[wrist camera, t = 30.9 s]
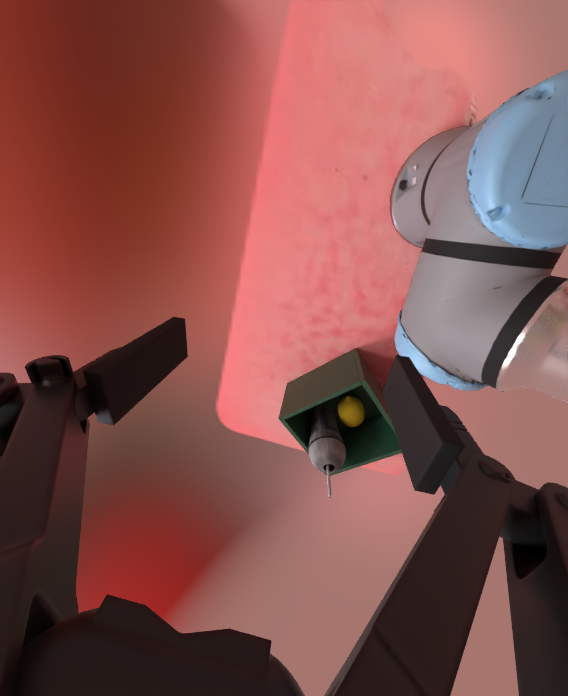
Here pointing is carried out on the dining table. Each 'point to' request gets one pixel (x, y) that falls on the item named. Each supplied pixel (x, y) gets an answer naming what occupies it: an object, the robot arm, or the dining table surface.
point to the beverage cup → (325, 442)
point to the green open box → (330, 387)
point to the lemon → (351, 411)
